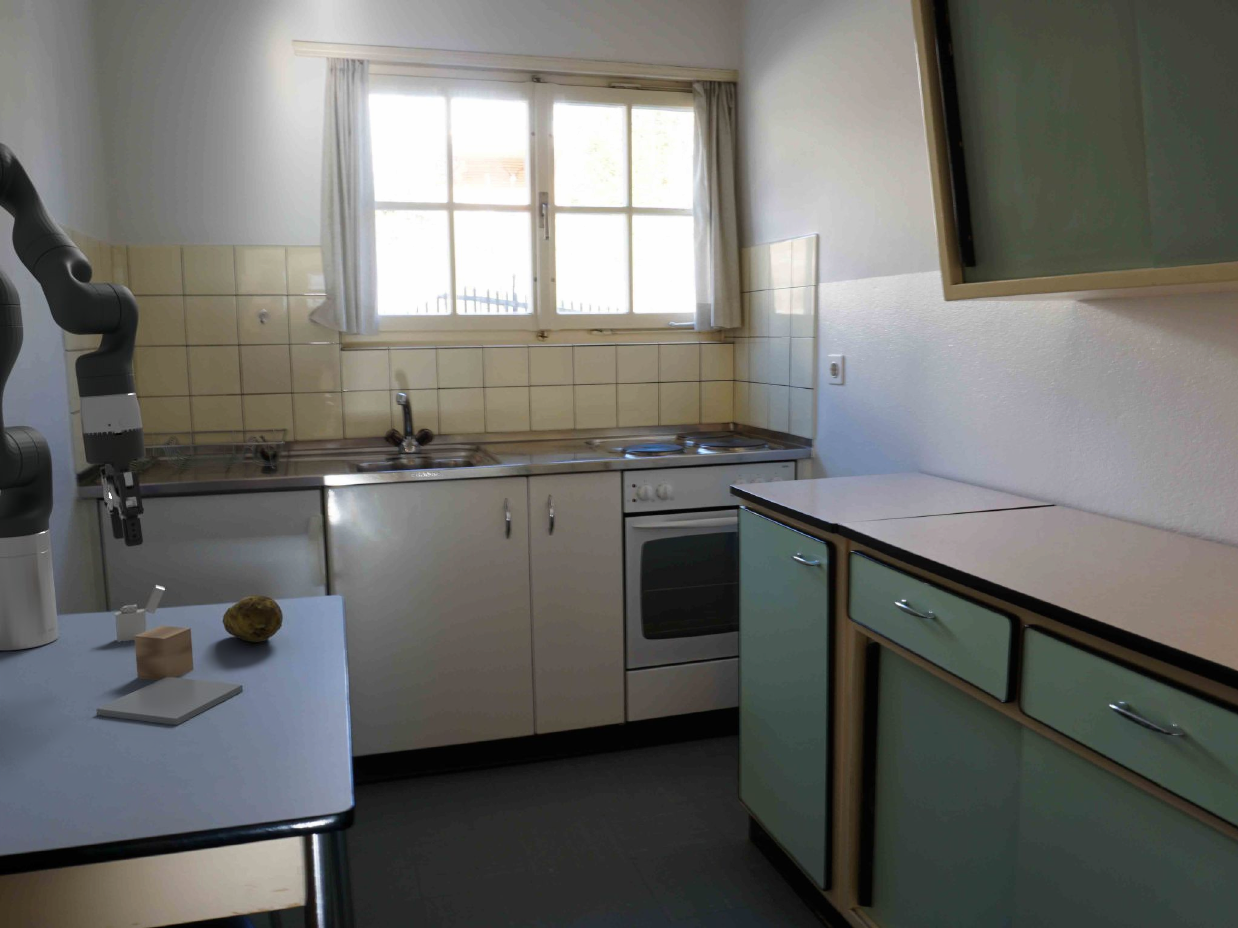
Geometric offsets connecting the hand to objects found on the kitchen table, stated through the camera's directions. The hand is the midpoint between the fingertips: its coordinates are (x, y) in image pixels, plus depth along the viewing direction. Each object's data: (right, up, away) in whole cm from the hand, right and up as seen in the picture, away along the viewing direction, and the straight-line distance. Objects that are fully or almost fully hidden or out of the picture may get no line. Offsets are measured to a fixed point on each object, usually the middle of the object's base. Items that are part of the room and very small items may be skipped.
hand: (128, 541), depth 139 cm
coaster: (+12, -19, -14) cm, 27 cm away
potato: (+14, -17, +11) cm, 24 cm away
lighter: (-5, -16, +15) cm, 22 cm away
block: (+6, -18, -2) cm, 19 cm away
